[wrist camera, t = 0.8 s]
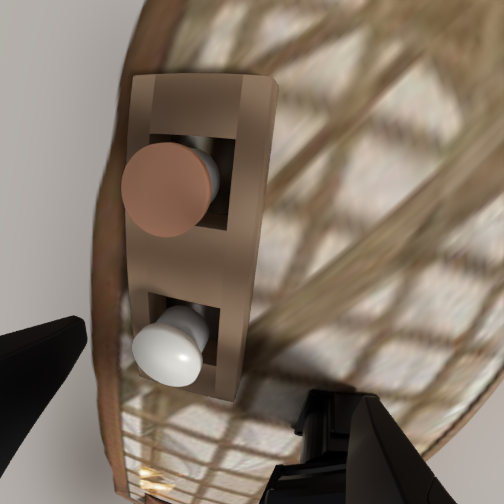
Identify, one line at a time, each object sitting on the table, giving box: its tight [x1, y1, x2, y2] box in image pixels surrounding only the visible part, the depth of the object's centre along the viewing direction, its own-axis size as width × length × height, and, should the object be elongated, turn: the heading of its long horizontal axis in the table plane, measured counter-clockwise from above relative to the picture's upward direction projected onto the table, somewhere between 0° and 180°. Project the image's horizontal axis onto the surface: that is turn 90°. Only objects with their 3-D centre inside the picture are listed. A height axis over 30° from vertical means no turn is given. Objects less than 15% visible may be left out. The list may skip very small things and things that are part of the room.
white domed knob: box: [132, 305, 210, 387], centre depth 19 cm, size 4×4×4 cm
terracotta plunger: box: [121, 142, 220, 237], centre depth 15 cm, size 4×4×4 cm
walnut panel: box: [125, 73, 279, 402], centre depth 20 cm, size 22×8×3 cm, turn 173°
